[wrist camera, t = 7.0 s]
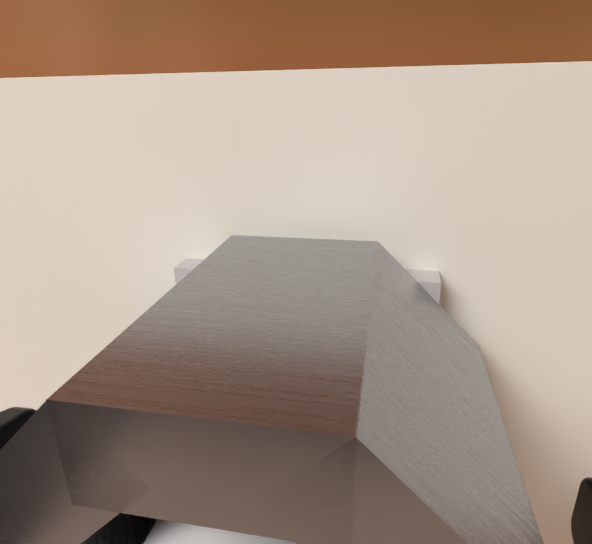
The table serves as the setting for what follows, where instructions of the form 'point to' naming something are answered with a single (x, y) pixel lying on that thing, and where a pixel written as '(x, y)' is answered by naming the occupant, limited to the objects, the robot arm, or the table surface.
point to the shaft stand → (314, 220)
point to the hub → (275, 414)
